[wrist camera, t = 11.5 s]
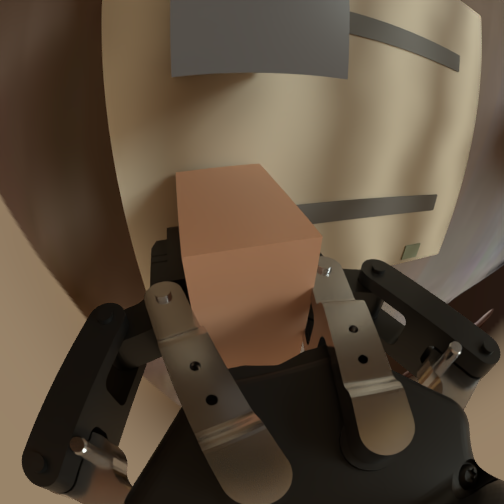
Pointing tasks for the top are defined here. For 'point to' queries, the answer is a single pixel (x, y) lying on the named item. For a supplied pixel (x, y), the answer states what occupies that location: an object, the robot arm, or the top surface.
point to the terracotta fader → (246, 262)
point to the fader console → (305, 127)
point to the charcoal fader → (260, 37)
